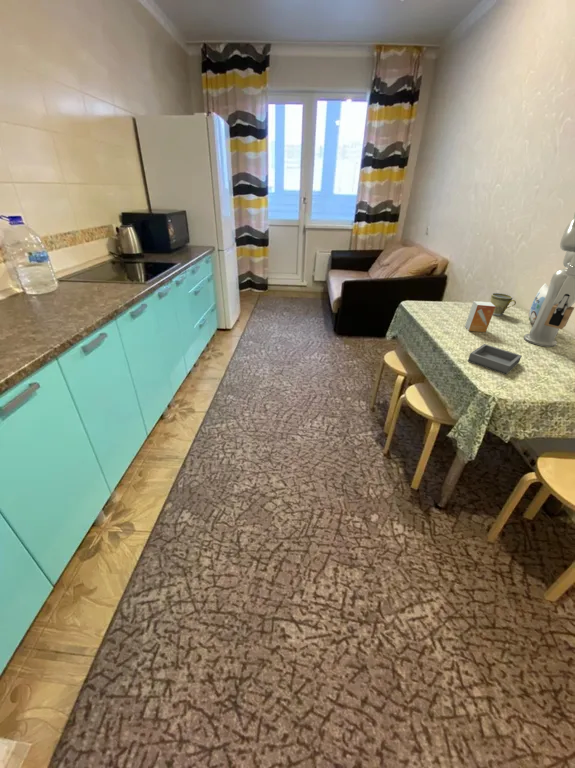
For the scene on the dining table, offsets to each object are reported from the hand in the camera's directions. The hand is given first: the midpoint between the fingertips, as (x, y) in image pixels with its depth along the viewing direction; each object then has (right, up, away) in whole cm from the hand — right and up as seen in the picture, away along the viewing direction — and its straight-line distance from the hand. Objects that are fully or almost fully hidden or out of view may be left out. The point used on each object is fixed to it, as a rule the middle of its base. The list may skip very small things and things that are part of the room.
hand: (556, 322), depth 120 cm
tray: (-17, -14, +9) cm, 24 cm away
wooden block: (0, -1, +1) cm, 1 cm away
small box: (-7, +4, +40) cm, 40 cm away
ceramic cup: (+17, +16, +60) cm, 64 cm away
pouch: (+25, +6, +44) cm, 51 cm away
